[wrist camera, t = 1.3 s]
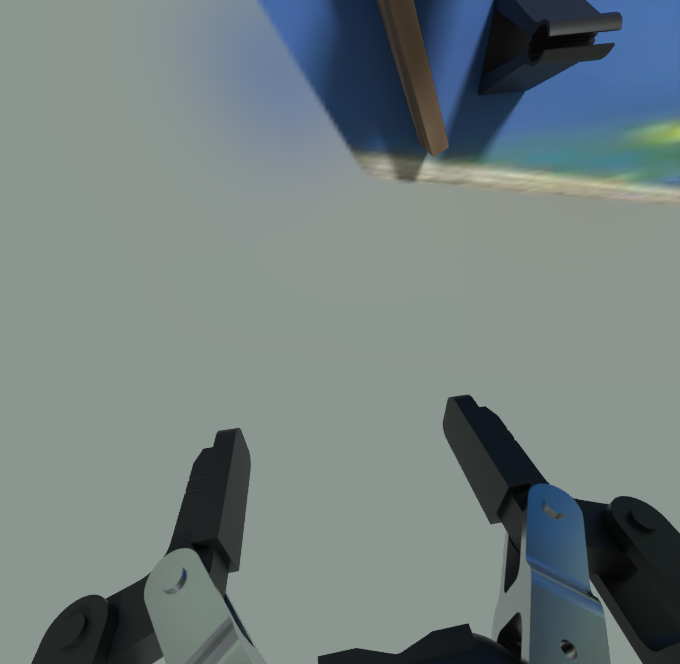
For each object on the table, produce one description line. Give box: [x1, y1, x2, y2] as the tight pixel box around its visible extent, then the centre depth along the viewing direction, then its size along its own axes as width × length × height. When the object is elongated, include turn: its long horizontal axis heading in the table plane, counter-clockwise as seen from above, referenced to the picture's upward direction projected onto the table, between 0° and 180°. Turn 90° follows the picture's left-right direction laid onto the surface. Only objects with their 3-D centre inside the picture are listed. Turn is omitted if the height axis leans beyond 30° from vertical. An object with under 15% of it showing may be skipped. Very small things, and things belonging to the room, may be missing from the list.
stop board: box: [376, 0, 449, 156], centre depth 30 cm, size 2×24×6 cm, turn 28°
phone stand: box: [478, 0, 622, 95], centre depth 29 cm, size 9×6×12 cm, turn 4°
